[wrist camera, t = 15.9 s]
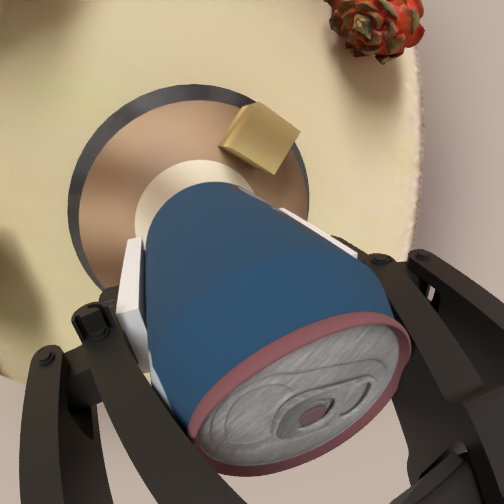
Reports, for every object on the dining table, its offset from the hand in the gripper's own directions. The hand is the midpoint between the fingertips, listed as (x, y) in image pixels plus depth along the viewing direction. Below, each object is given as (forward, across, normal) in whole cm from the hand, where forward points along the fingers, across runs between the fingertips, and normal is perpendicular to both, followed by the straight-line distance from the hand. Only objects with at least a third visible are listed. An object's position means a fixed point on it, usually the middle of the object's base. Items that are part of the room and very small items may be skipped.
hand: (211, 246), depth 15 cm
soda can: (+1, 0, 0) cm, 1 cm away
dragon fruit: (+7, +16, +17) cm, 24 cm away
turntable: (+7, 0, 0) cm, 7 cm away
